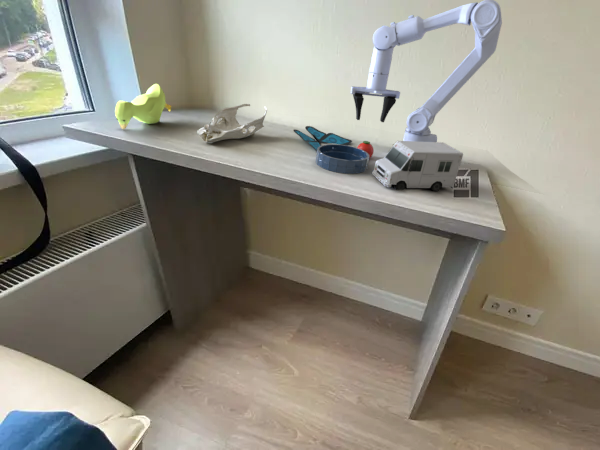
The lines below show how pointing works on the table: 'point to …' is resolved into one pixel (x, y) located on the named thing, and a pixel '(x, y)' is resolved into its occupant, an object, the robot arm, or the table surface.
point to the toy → (142, 107)
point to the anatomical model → (229, 126)
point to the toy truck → (419, 165)
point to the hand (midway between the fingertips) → (369, 120)
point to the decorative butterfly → (321, 137)
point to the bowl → (342, 158)
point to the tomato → (366, 147)
